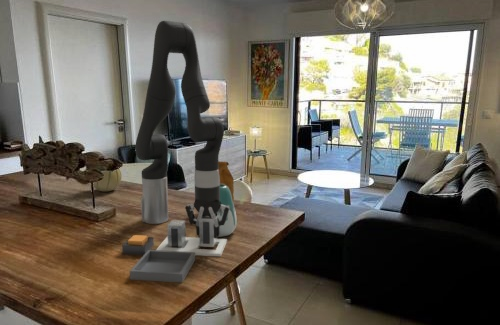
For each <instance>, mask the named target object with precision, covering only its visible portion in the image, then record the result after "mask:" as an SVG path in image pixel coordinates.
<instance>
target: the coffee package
mask: <svg viewBox="0 0 500 325" xmlns="http://www.w3.org/2000/svg"><path fill="white" fill-rule="evenodd" d="M218 164H219V177H220V184H224V185H226V186H228V188H229V190H230V192H231V196H232V201H233V204H234V202H235V200H234V199H235V196H234V191H235V190H234V187H235V186H234V181H235V180H234V177H233V174H232V173H231V171H230V170H229V167H228V166H230V164H229V162H228V161H220V160H218ZM234 205H235V204H234Z"/></svg>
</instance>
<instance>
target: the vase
mask: <svg viewBox="0 0 500 325" xmlns="http://www.w3.org/2000/svg"><path fill="white" fill-rule="evenodd" d="M220 202H221V204H222V205H226V206H227V205H229V206H230V209H229V212H228V215H227V219H226V222H225V224H224V225H221V226H220V234H219V236H218V237H217V238H221V237H227V236H229V235H231V234H233V232H234V231H235V230H236V227H237V222H238V219H237V218H238V217H237V213H236V208H235V204H233V201H232V196H231V192H230V190H229V188H228V186H226V185H224V184H220ZM217 213H218V218H219V221H220V220H222V216H223V212H222V209H221V208H220V209H219V210H218V211H217Z"/></svg>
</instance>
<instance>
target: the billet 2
mask: <svg viewBox="0 0 500 325" xmlns="http://www.w3.org/2000/svg"><path fill="white" fill-rule="evenodd" d="M213 217H214V216H213ZM214 227H215V225H214V218H212V217H209V216H202V218H199V237H198V238H199V239H200V246H199V247H204V248H207V247H208V248H214V247H215V246H216V244H215V243H216V241H217V239H218V237H217V238H214Z"/></svg>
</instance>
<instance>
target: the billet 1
mask: <svg viewBox="0 0 500 325" xmlns="http://www.w3.org/2000/svg"><path fill="white" fill-rule="evenodd" d="M166 225H167V229H166V230H167V236H168V247H170V248H184V247H185V246H186V244H187V243H186V237H187V232H186V220H178V219H177V220H176V219H171V221H170V222H168V224H166Z"/></svg>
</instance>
